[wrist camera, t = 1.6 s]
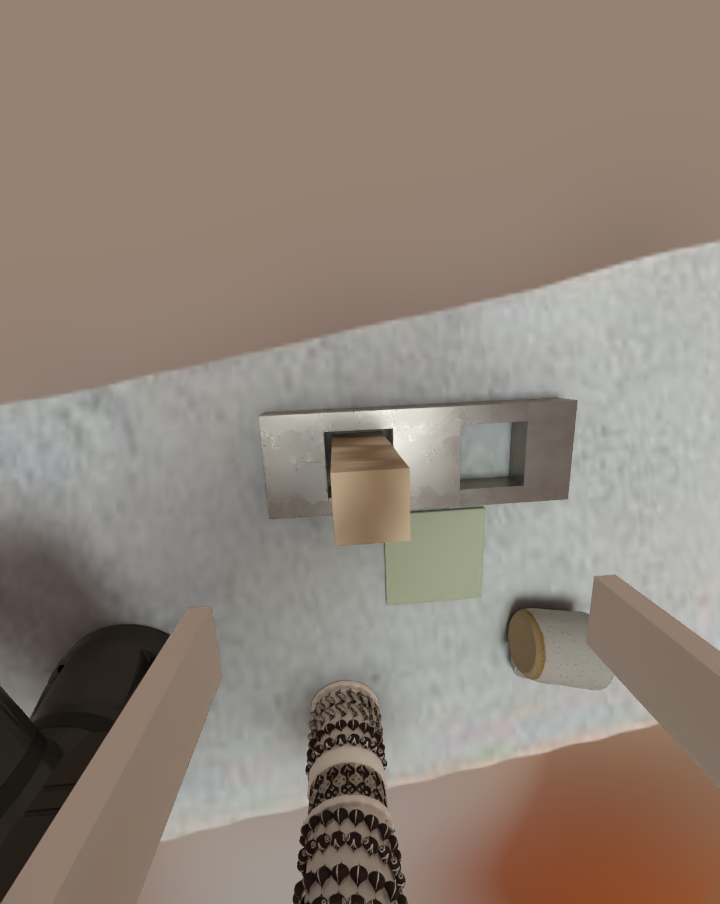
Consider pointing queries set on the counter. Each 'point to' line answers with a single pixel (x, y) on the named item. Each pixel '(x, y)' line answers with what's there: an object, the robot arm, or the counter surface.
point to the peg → (369, 490)
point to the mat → (437, 557)
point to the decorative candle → (347, 805)
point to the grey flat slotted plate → (422, 453)
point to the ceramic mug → (555, 649)
